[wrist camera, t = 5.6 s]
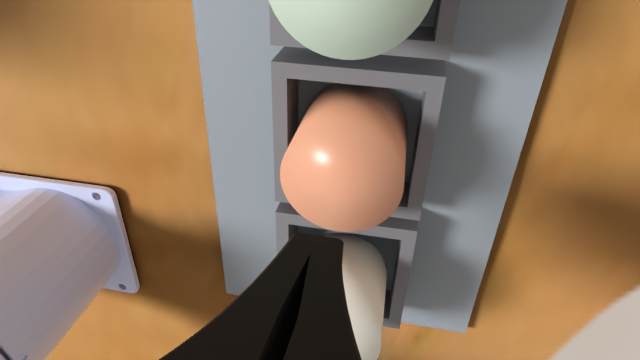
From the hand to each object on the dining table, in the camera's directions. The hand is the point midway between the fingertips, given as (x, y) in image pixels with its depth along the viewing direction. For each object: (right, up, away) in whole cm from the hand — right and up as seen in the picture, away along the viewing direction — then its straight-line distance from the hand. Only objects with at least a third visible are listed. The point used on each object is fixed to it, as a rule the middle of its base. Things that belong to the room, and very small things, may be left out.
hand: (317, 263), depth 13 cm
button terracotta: (+2, +4, +7) cm, 9 cm away
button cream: (+1, -2, +10) cm, 10 cm away
